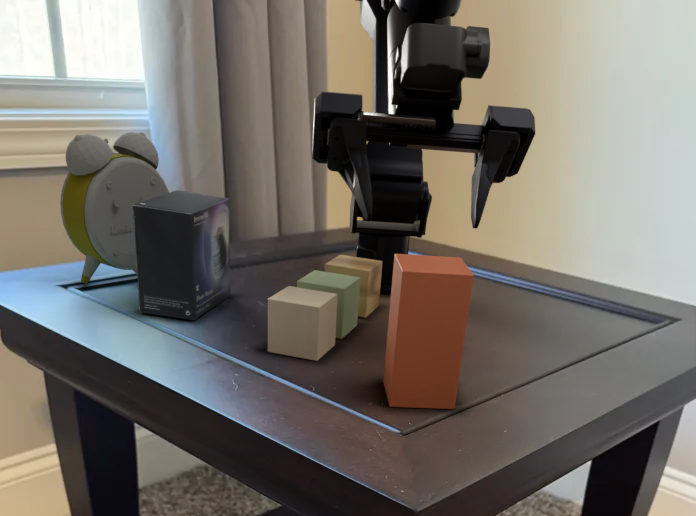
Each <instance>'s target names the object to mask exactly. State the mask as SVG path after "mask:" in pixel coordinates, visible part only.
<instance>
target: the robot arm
mask: <svg viewBox="0 0 696 516" xmlns="http://www.w3.org/2000/svg"><path fill="white" fill-rule="evenodd" d="M355 1H357V2H359V22H360V25H361V26H362V28H363V29H364V30H365V32H366V33H367V35H368V36H369V38H370V39H371V41H372V102H371V103H372V104H371V105H372V109H371V111H372V112H370V111H363V94H360V93H346V92H334V91H323V90H322V91H320V92H319V93H318V94H317V96H316V97H314V102H313V104H314V106H313V123H312V124H313V125H312V155H311V157H312V160H314V161H315V162H316V163H317V164H323V165H326V167H327V170H329V171H331V172H336V173H338V174H339V175H340V177H341V179H342V180H343V181H344V183H345V184H346V186H347V187H348V189H349V190H350V192H351V197H350V207H349V229H350V232H351V234H354V235H355V234H358V237H357V239H358V241H357V247H356V255H355V257H359V258H365V259H372V260H378V261H382V274H381V286H380V293H383V294H389V293H390V294H391V289H392V277H393V266H394V255H395V254H409V251H410V239H411V237H412V238H413V237H416V238H419V239H422V237H423V236H426V229H427V223H428V217H429V213H430V208H431V204H432V200H433V196H432V194H431V193H430V189H429V183H428V181H425V180H424V161H423V150H429V151H440V152H455V153H467V154H473V165H474V169H473V174H472V176H471V189H470V190H471V192H470V193H471V195H470V197H471V198H470V220H471V225H472V229H478V228H479V225H480V224H481V220H482V217H483V214H484V210H485V207H486V204H487V202H488V201H487V200H488V197H489V194H490V190H491V188H492V186H493V184H501V183H503V182H504V181H505V180H506V178H511V177H514V176H516V175H518V174H519V172H520V170H521V168H522V165H523V163H524V161H525V158H526V156H527V154H528V152H529V150H530V147H531V144H532V143H533V140H534V138H535V136H536V120H535V115H534V113H533V112H532V110H531V109H530V108H526V107H516V106H515V107H514V106H503V105H493V104H492V105H491V104H488V106H487V108H486V111H485V114H484V117H483V119H482V123H481V124H471V123H470V124H469V123H459V122H455V111H460V107H461V104H462V100H463V91H462V90H463V89H462V82H463V80H464V79H476V80H481V79H483V77H484V75H485V73H486V72H487V70H488V67H489V64H490V58H491V57H490V56H491V37H490V29H489V27H485V26H484V27H482V26H473V25H467V27H466V28H465V27H463V26H458V25H452V19H451V18H453V17H455V16H456V15H457V13H458V11H459V9H460V8H461V3H462V0H355ZM358 218H360V219H358Z"/></svg>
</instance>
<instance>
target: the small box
mask: <svg viewBox="0 0 696 516" xmlns="http://www.w3.org/2000/svg"><path fill="white" fill-rule="evenodd" d="M132 207H133V222H134V236H135V249H136V259H137V274H138V276H137V290H138V312H139V313H143V314H150V315H156V316H164V317H169V318H175V319H181V320H189V321H195V320H197V319H198V318H200V317H201V316H202V315H203V316H204V314H205V313H207V312H208V311H210V310H211V309H213V308H214V307H216V306H217V305H219V304H220V303H222V302H223V301H224V300H226V299H227V298H229V297H230V296H231V261H230V260H231V253H230V252H231V251H230V250H231V247H230V244H231V243H230V198H229V197H224V196H215V195H209V194H205V193H198V192H192V191H186V190H180V189H176V190H172V191H169V193H166V194H163V195H160V196H157V197H154V198H151V199H148V200H145V201H142V202H139V203H135V204H133V205H132ZM137 274H136V275H137Z"/></svg>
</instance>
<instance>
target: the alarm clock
mask: <svg viewBox="0 0 696 516" xmlns="http://www.w3.org/2000/svg"><path fill="white" fill-rule="evenodd" d="M112 149H113V150H114V151H113V150H112ZM159 160H160V159H159V153H158V151H157V148H156V146H155V144H153V142H152V141H151V140H150V138H149V137H147V134H145V133H144V132H135V131H131V132H125V133H123V134H121V135H120V136H119V137H117V139H116V140H115V141H114V142H113V145H112V148H111V147H110V145H109V139H108V138H104V139H103V138H101V137H99V136H97V135H95V134H91V133H90V134H89V133H86V134H85V133H84V134H83V133H82V134H76V135H75V136H74V137H73V138H72V139H71V140H70V141H69V142H68V145H67V147H66V151H65V163H66V167H67V169H68V173H67V175H66V177H65V179H64V181H63V185H62V188H61V193H60V203H59V204H60V215H61V220H62V225H63V227H64V230H65V232H66V235H67V237H68V239H69V240H70V242H71V243H72V245H73V246H74V247H75V248H76V249H77V250H78V251H79V252H80V253H81V254H83V256H85V259H84V265H83V268H82V273H81V276H80V277H81V278H80V282H81V283H84V284H85V285H88V283H89V282H90V280H91V278H92V277H93V275H94V274H95V272H96V271H97V269H98V268H99V266H100V265H101V264H102V265H106V266H109V267H112V268H115V269H119V270H122V271H123V270H124V271H133V272H134V273H135V274H136V276H137V277H138V274H137V259H136V249H135V236H134V222H133V207H132V205H133V204H135V203H139V202H142V201H145V200H148V199H151V198H154V197H157V196H160V195H163V194H166V193H169V192H170V190H169V188H168V187H167V184H166V182H165V180H164V179H163V177H162V175H161V174H160V173H159V172H158V171H157V169H158V167H159V163H160V162H159Z"/></svg>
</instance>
